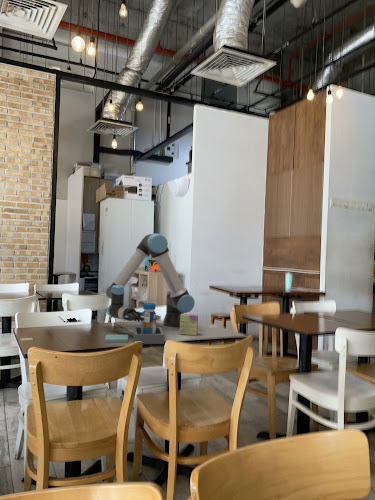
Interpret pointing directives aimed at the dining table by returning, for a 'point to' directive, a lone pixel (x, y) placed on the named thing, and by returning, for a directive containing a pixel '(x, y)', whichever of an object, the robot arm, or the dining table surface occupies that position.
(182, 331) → the box
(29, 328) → the dining table surface
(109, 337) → the board
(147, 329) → the beverage bottle
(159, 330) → the gray rectangular frame
